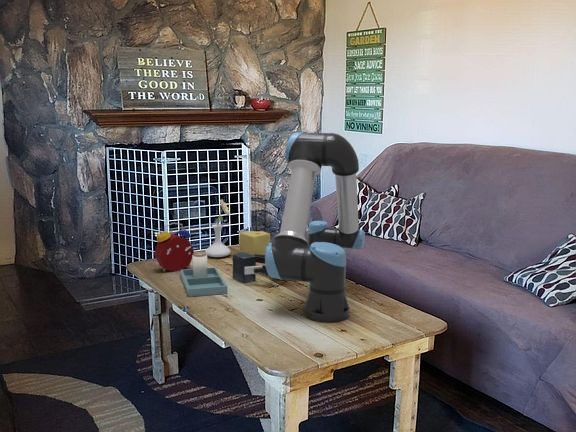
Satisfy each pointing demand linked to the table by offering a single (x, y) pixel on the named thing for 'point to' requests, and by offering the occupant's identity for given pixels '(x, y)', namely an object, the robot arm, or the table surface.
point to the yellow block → (254, 242)
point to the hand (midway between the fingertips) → (240, 265)
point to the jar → (199, 264)
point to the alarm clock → (173, 250)
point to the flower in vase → (218, 247)
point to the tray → (204, 283)
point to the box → (243, 267)
